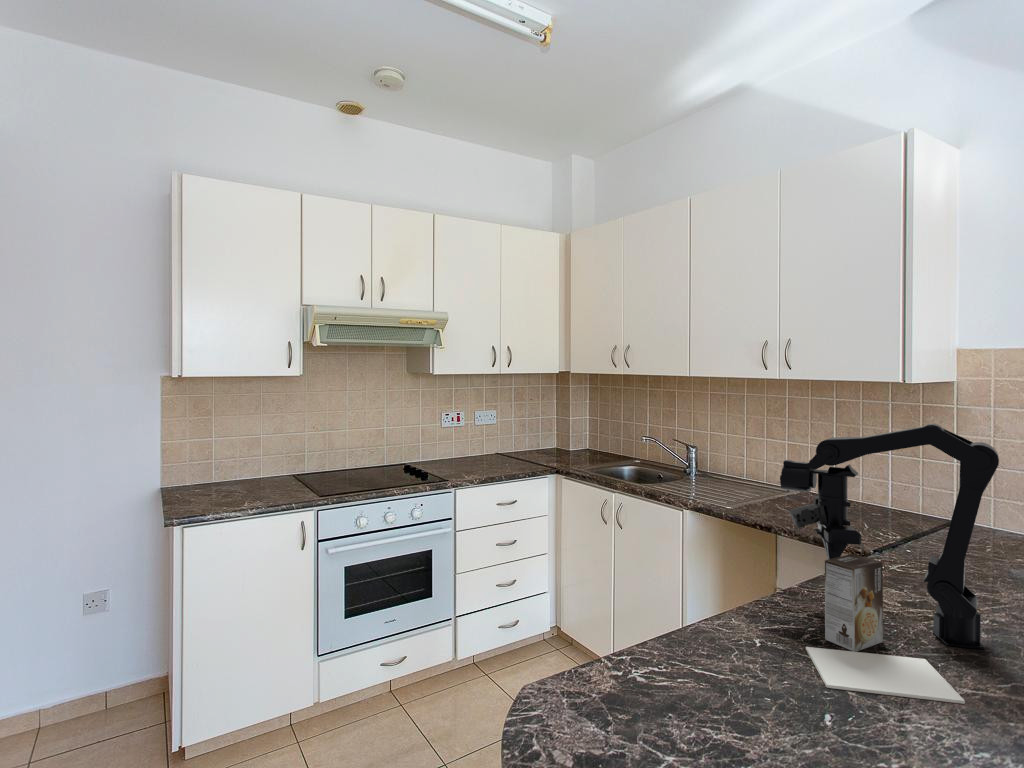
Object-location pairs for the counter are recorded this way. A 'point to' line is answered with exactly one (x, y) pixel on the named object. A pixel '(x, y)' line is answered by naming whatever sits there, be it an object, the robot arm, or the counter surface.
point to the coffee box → (854, 601)
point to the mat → (882, 674)
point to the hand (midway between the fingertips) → (832, 565)
